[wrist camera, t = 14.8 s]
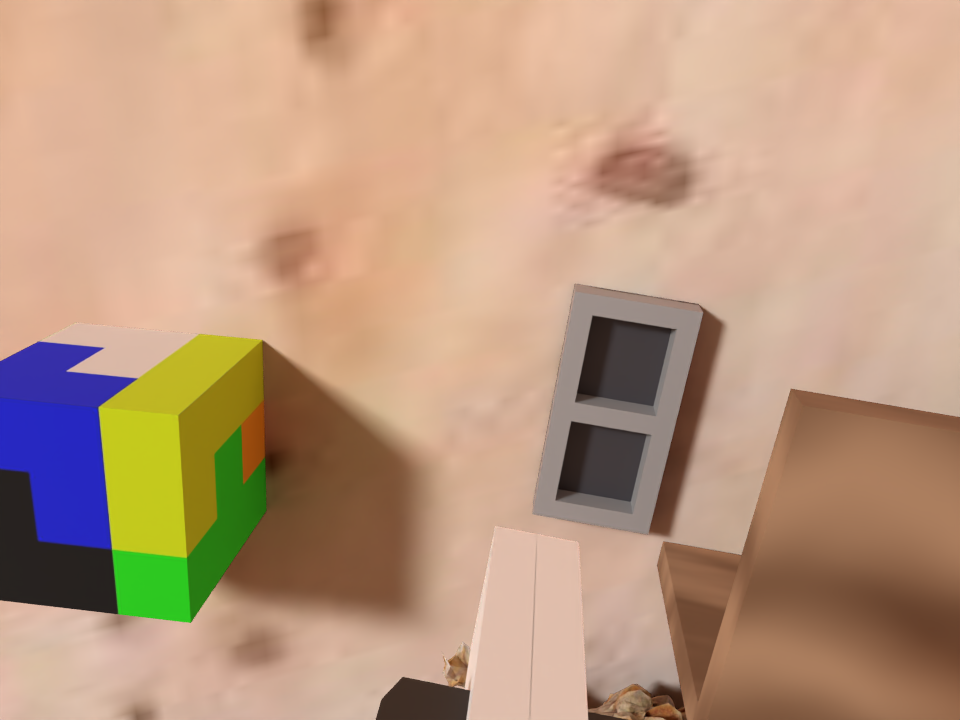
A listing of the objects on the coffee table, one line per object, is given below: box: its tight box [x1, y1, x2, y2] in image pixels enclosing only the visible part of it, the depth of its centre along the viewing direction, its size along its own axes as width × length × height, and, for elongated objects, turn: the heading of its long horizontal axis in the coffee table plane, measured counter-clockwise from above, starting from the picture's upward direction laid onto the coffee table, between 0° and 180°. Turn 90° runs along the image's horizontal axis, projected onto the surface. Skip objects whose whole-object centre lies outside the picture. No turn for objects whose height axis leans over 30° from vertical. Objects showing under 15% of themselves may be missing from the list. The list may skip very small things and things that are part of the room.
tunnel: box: [657, 389, 960, 720], centre depth 35 cm, size 15×12×14 cm
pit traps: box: [533, 284, 703, 535], centre depth 41 cm, size 12×6×2 cm, turn 172°
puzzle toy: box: [0, 322, 266, 623], centre depth 40 cm, size 10×10×10 cm
